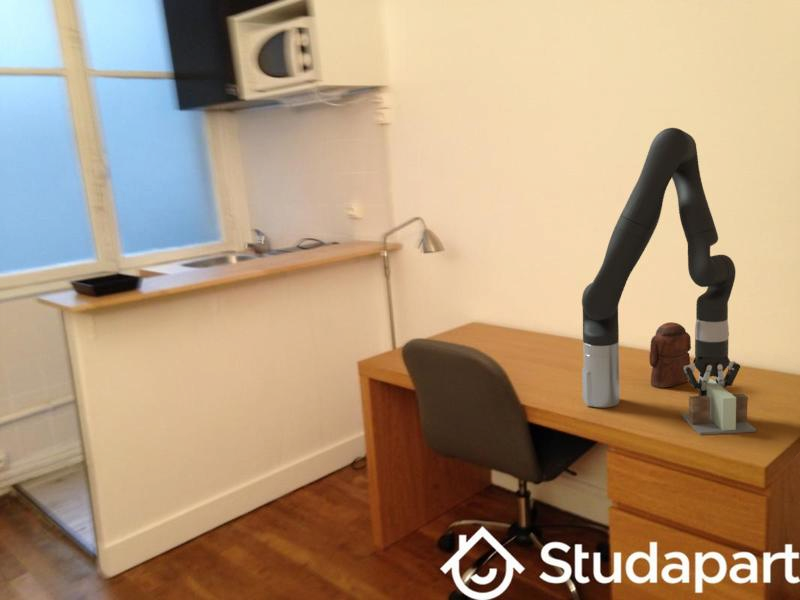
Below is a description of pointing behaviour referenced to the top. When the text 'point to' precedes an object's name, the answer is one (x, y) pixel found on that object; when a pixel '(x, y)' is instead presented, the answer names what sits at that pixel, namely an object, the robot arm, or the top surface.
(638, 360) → the top surface
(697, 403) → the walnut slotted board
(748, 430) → the charcoal base board
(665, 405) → the top surface
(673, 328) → the wooden figurine
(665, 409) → the top surface
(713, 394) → the pale green upright slab
